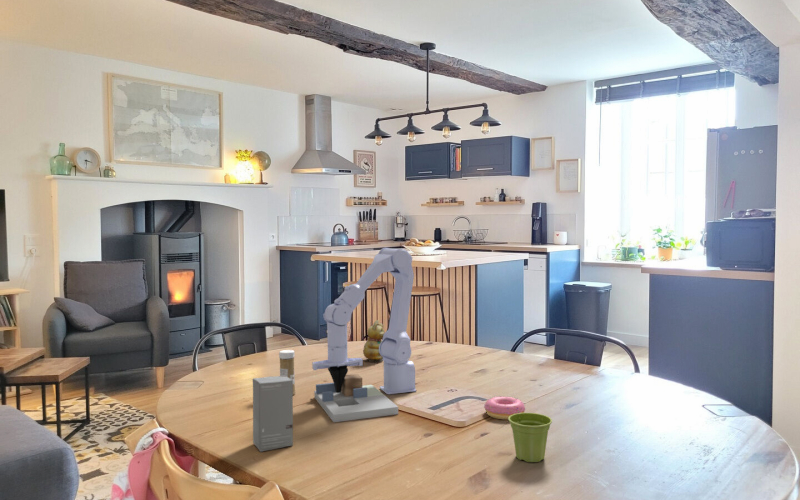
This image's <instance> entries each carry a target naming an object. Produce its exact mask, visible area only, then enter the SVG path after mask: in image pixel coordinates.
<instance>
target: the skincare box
mask: <svg viewBox="0 0 800 500" xmlns="http://www.w3.org/2000/svg"><path fill="white" fill-rule="evenodd" d="M293 396H294V395H293V383H292V380H291V379H290V378H288V377H286V376H280V375H277V376H276V375H275V376H271V375H270V376H264V377H256V378H255V377H253V378H252V443H253V444H254V446H255V447H256V448H257V449H258V450H259V452H260V453H261V452H265V451H266V452H267V451H271V450H277V449H281V448H287V447H292V446H293V445H294V433H293V432H294V419H293V418H294V412H293V411H294V407H293V401H294V398H293Z"/></svg>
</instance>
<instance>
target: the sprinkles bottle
mask: <svg viewBox="0 0 800 500" xmlns="http://www.w3.org/2000/svg"><path fill="white" fill-rule="evenodd" d="M278 355H279V356H278V357H279V376H286V377H288V378H290V379H291V380H292V383H293V396H295V394H296V391H295V390H296V389H295V386H296V385H295V383H296V380H295V379H296V378H295V357H296V356H295V350H293V349H284V350H280V351H279V352H278Z"/></svg>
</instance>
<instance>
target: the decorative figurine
mask: <svg viewBox="0 0 800 500" xmlns="http://www.w3.org/2000/svg"><path fill="white" fill-rule="evenodd" d="M372 324H373V325H370V327H368V329H367V336H368V338H367V341H366V342H364V345H363V350H362V352H363V354H362V355H363V356H364V358H365V359H368V362H375V363H377V362H378V363H380V362H383V357H382V356H381V355H380V353H379V345H380V343H381V342H382V339H383V335H384V333H385V332H386V331H385V329H384V328H383V327H384V325H383V323H381V322H380V320H379V319H377V320H375V321H374V323H372Z"/></svg>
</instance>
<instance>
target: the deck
mask: <svg viewBox="0 0 800 500" xmlns="http://www.w3.org/2000/svg"><path fill="white" fill-rule="evenodd" d="M313 394H314V395H313V396H314V399H315V400H316V402H317V403H318V404H319V405H320V406H321V408H322V409H323V410H324V412H325V413H326V414H327V416H328V417H329V419H330V420H331V421H332V422H333V423H338V422H347V421H355V420H363V419H371V418H377V417H385V416H393V415H399V406H398V405H397V404H395V402H393V401H392V400H391V399H389V398H388V396H386V395H385V394H384V393H382V392H381V391H380V390H379V389H378V388H377V387H376V386H375V385H373V384H365V385H364V384H363V385H362V388H355V389H353V396H345V395H344V394H343V393H342V392H341V393H337V392H336V391H335V386H334V382H327V383H320V384H319V383H317V384H315V390H314V393H313Z"/></svg>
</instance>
